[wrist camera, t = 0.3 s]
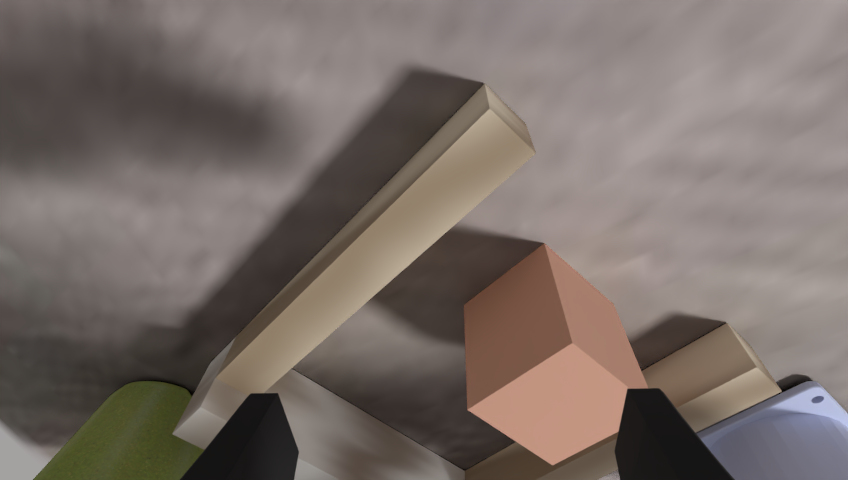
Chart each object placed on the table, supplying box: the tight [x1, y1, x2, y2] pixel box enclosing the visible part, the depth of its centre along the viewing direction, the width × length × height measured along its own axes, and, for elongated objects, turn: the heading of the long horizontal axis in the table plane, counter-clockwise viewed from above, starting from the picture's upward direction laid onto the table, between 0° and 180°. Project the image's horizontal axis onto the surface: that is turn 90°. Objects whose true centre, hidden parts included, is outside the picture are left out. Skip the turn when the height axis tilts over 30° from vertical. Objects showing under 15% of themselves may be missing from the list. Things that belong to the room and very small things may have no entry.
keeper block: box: [464, 243, 648, 465], centre depth 19 cm, size 4×4×6 cm
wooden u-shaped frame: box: [172, 84, 782, 480], centre depth 21 cm, size 17×18×4 cm
